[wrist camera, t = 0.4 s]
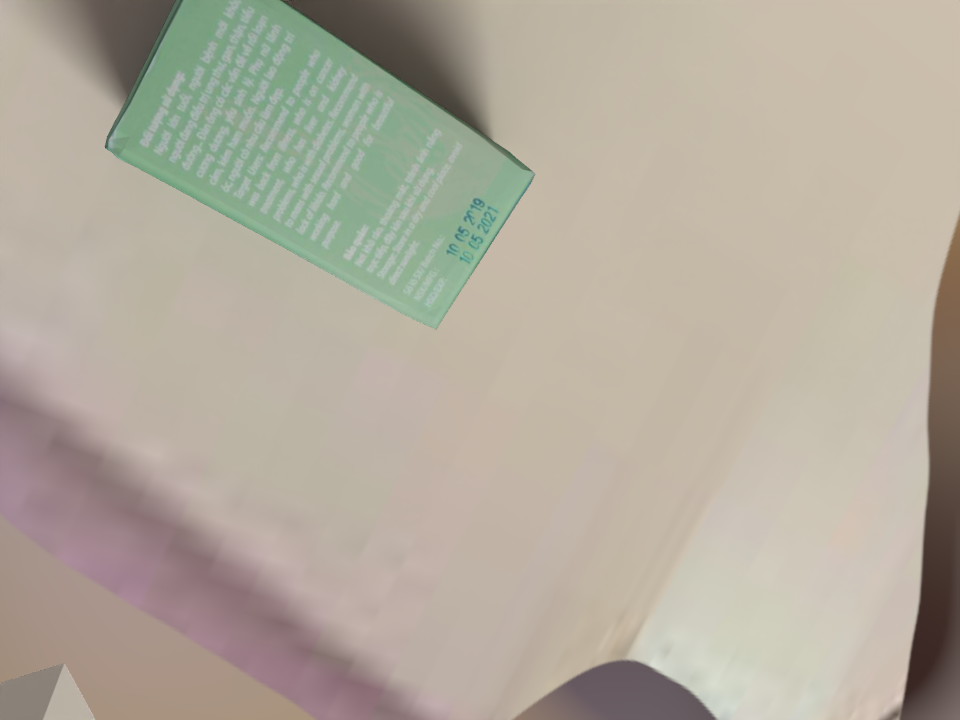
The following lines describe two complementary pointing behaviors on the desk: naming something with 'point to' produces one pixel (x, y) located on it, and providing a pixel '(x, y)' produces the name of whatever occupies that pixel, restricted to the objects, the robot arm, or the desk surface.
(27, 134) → the desk surface
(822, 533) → the desk surface
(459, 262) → the box
